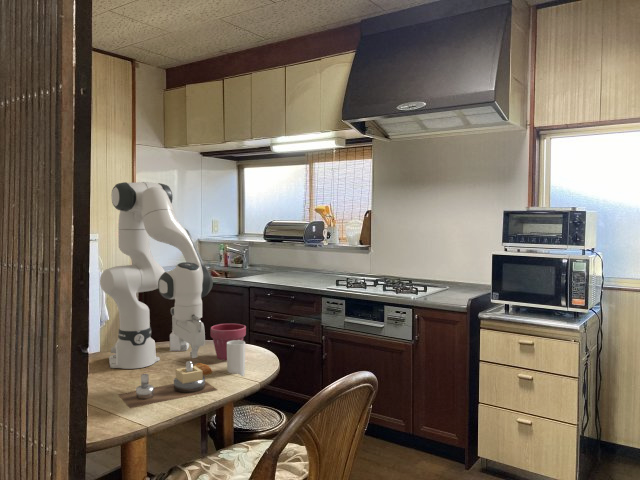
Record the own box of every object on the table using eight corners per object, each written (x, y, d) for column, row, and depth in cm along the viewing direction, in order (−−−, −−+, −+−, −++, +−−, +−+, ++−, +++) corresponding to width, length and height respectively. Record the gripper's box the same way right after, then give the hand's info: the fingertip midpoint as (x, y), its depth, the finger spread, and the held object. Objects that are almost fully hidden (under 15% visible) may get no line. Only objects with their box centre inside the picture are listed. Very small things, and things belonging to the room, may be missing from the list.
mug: (242, 378, 186) (241, 345, 186) (224, 377, 188) (223, 344, 187) (250, 369, 196) (250, 338, 196) (233, 368, 198) (233, 337, 197)
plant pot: (232, 350, 223) (232, 321, 222) (253, 357, 213) (252, 326, 212) (203, 357, 212) (203, 326, 212) (224, 364, 203) (223, 332, 202)
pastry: (217, 377, 188) (217, 366, 188) (200, 381, 184) (199, 370, 184) (205, 371, 195) (205, 361, 195) (188, 374, 191) (188, 364, 191)
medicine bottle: (172, 346, 229) (172, 319, 228) (189, 346, 229) (189, 319, 229) (169, 351, 222) (169, 323, 221) (186, 350, 222) (186, 323, 222)
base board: (118, 398, 165) (118, 394, 165) (201, 382, 181) (201, 378, 181) (129, 413, 154) (129, 408, 154) (217, 394, 170) (217, 389, 170)
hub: (169, 386, 173) (169, 359, 172) (198, 381, 179) (198, 355, 178) (180, 395, 165) (179, 367, 164) (209, 389, 170) (209, 362, 170)
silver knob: (134, 396, 164) (134, 374, 164) (150, 392, 167) (150, 371, 167) (139, 401, 160) (138, 378, 159) (155, 397, 163) (155, 375, 162)
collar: (176, 378, 172) (176, 369, 172) (195, 374, 176) (195, 365, 176) (183, 383, 167) (183, 374, 167) (202, 379, 171) (202, 370, 170)
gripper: (210, 317, 163) (209, 360, 164) (186, 306, 180) (186, 345, 181) (190, 319, 160) (190, 363, 161) (168, 308, 177) (169, 347, 178)
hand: (188, 353), depth 171 cm, fingers open, 8 cm apart
